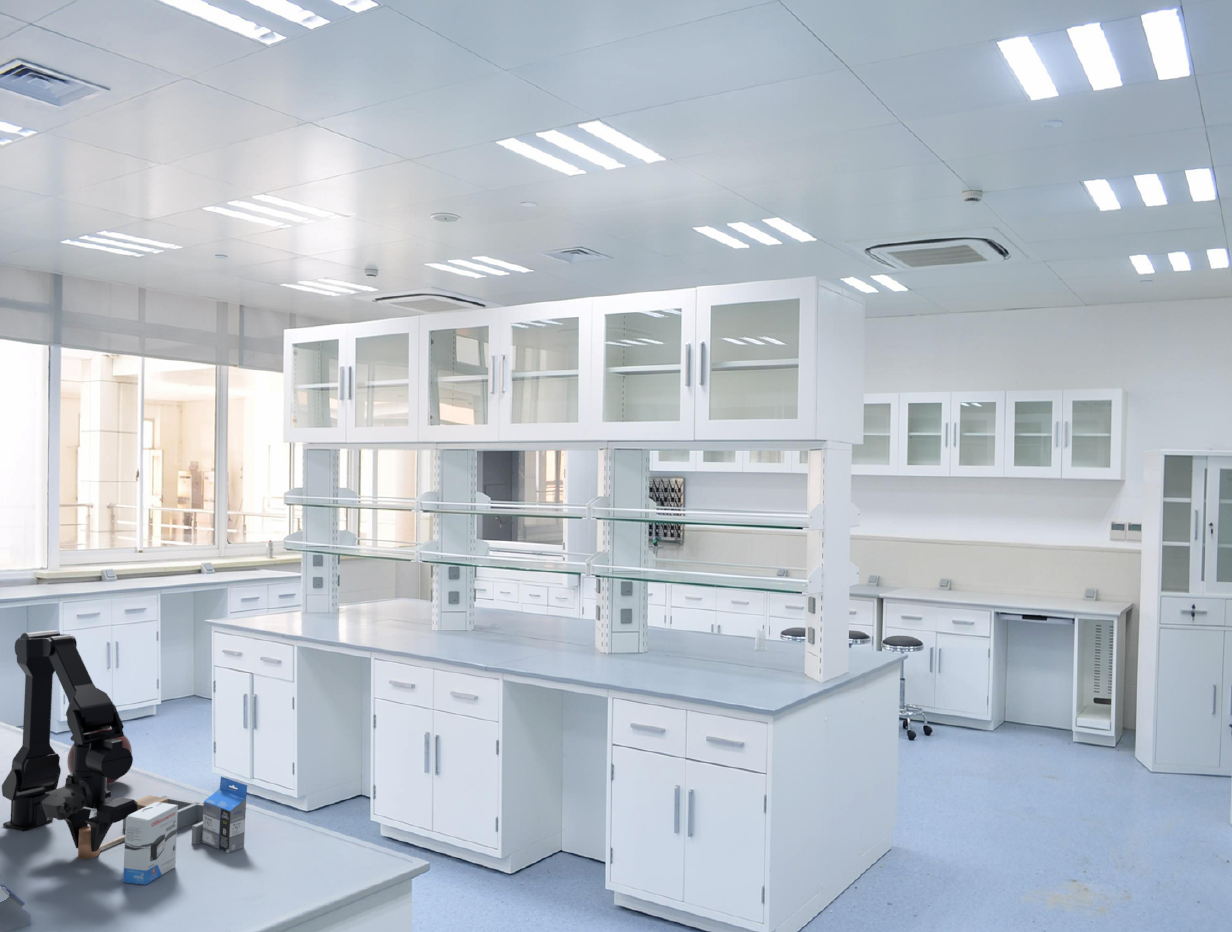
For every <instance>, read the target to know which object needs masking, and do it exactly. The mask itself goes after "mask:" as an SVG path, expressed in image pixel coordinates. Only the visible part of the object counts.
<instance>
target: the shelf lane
mask: <svg viewBox="0 0 1232 932" xmlns="http://www.w3.org/2000/svg"><path fill="white" fill-rule="evenodd" d="M161 798H166V799H168V804H174V805H178V817H177V830H179V829H181V828H184V827H186V826H188V825H191V824H192V823H196V822H198V823H196V824H193V825H192V826H191V844H192V845H197V844H199V843H203V842H202V832H203V803H204V802H203V803H202V802H198V801H192V800H187V799H182V798H177V797H173V796H172V797H171V796H166V795H163V796H161ZM125 828H126V819H123V820H122V829H123V830H125Z"/></svg>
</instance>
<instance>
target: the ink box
mask: <svg viewBox="0 0 1232 932" xmlns="http://www.w3.org/2000/svg"><path fill="white" fill-rule="evenodd" d="M177 817H178V805H174V804H167V803H161V802H155V803H152V804H150V805H148V806H146V807H144V808H142V809H140V810H138V811H136V812H134V813H132V814H130V815H128V817H126V828H125V829H124V831H125V833H124V835H125V841H124V852H123V853H124V854H123V855H124V856H123V858H124V859H123V879H122V883H127V884H135V885H142V886H144V885H145V886H147V885H149V884H150V883H151V882H153V881H154V880H157V879H159V878H160V877H161V876H163V875H164V874H166V873H167V872H170V871H171V870H172V869H174V868H176V858H177V854H176V853H177V836H178V835H177V834H178V829H177Z"/></svg>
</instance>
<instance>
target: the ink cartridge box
mask: <svg viewBox="0 0 1232 932" xmlns="http://www.w3.org/2000/svg"><path fill="white" fill-rule="evenodd" d="M233 786H234V788H236V789H237V790H235V789H232V788H230V787H233ZM247 794H248V784H245V783H242V782H239V781H236V780H233V779H230V778H227V777H224V776H220V784H219V788H218V789H217V790H216V791H214V792H213V794H211V795H210V796H208V798H206V799H205V800H204V801H203V832H202V842H201V843H203V844H206V845H208V846H210V847H213V848H215V849H218V850H220V851H223V852H225V853H227V854H231V853H235V852H237V851H239V850H242V849H244V848H245V834H246V833H245V831H246V811H247V809H246V808H247V807H246V806H247V797H248V796H247Z"/></svg>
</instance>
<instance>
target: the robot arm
mask: <svg viewBox="0 0 1232 932" xmlns="http://www.w3.org/2000/svg"><path fill="white" fill-rule="evenodd" d="M77 644H78V643H77V639H76V636H74V635H71V634H65V633H63V634H61V633H60V630H57V629H51V630H41V631H40V630H39V631H31V632H23V633H22V634H21V636H20V637H18V638H17V639H16V640H15V643H14V653H15V655H16V662H17V665H18V667H20V669H21V670H22V672H23V673H24V674H25V680H24V681H25V682H24V703H23V724H22V725H23V728H22V745H21V747H20V749H19V750H18V751H17V752H16V754H15V756H14V757H13V759H12V762H11V770H10V771H9V773H8V774H7V775H6V778H5V779H4V781H3V782H2V784H1V793H2V797H4V798H6V799H8V800H9V801H11V803H10V820H9V821H6V822H3V824H2V826H3V827H8V828H11V829H16V830H20V831H21V830H22V831H28V830H30V829H33V828H36V827H38V826H41V825H42V826H43V825H44V824H47V823H50V822H53V820H54V819H56V820H58V821H65V823H66V824H67V827H68V829H69V832H70V835H71V838H72V840H73V844H74V846H75V848H76V849H78V842H79V829H80V828H82V827H85V826H91V849H92V852H95V851H97V850H98V849H99V847H100V845H102V844H103V841H104V840H105V837H106V836H107V834H108V832H109V830H110V828H111V827H112V825H113V824H115V823H116V824H117V823H119V822H121V821H123V819H126V817H128V815H130V814H132V813H134V812H136V811H137V807H138V803H137V802H136V801H135V800H136V799H133V798H127V797H123V796H120V797H117V798H114V799H112V800H109V801H107V800H106V799H108V798H111V797H112V791H111V790H107V785H106V784H107V778H109V779H117V778H119V779H120V778H122V777H123V776H125V775H126V774H127V773H128V772H129V771H130V769H131V768H132V765H133V762H134V758H133V753H132V754H131V752H130V751H129V750H128V749H127V748H124V747H123V741H122V740H117V739H116V738H119V737H123V736H124V735H125V733H124V731H123V730H124V728H125V726H124V724H123V722H122V718H121V717H120V715H119V712H118V709H117V706H116V704H115V703H114V702H113V701H112V699H111V697H109V695H108V694H107V692H105V691H103V690H101V689H99V688H97V687H96V685H95V684H94V682H93V680H92V678H91V675H90V673H89V671H88V669H87V667H86V665H85V663H84V660H83V658H82V656H81V655H80V653H79V650H78V645H77ZM54 674H56V676H57V679H58V680H59V682H60V683H59V684H60V685H61V687H62V689H63V692H64V694H65V696H66V698H67V700H68V706H67V709H66V712H65V715H66V720H67V721H66V722H67V723H66V724H67V726H68V729H69V731H70V732H71V734H72V735H71V737H70V741H72V742H73V743H74V756H73V773H72V774H67V776H66V778H65V784H64V785H63V786H61V787H58V785H59V781H60V776H61V772H62V771H61V770H62V768H61V766H60V760H61V759H60V758H61V757H60V755H59V753H56V752H55V750H54V748H53V747H52V745H51V725H52V703H53V702H52V700H53V699H52V698H53V683H54V682H53V680H54V679H53V677H54ZM108 728H112V729H111V730H106V731H100V730H105V729H108ZM94 731H100V732H95V733H94ZM91 811H93V812H94V813H93V816H91ZM90 816H91V817H90Z"/></svg>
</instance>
